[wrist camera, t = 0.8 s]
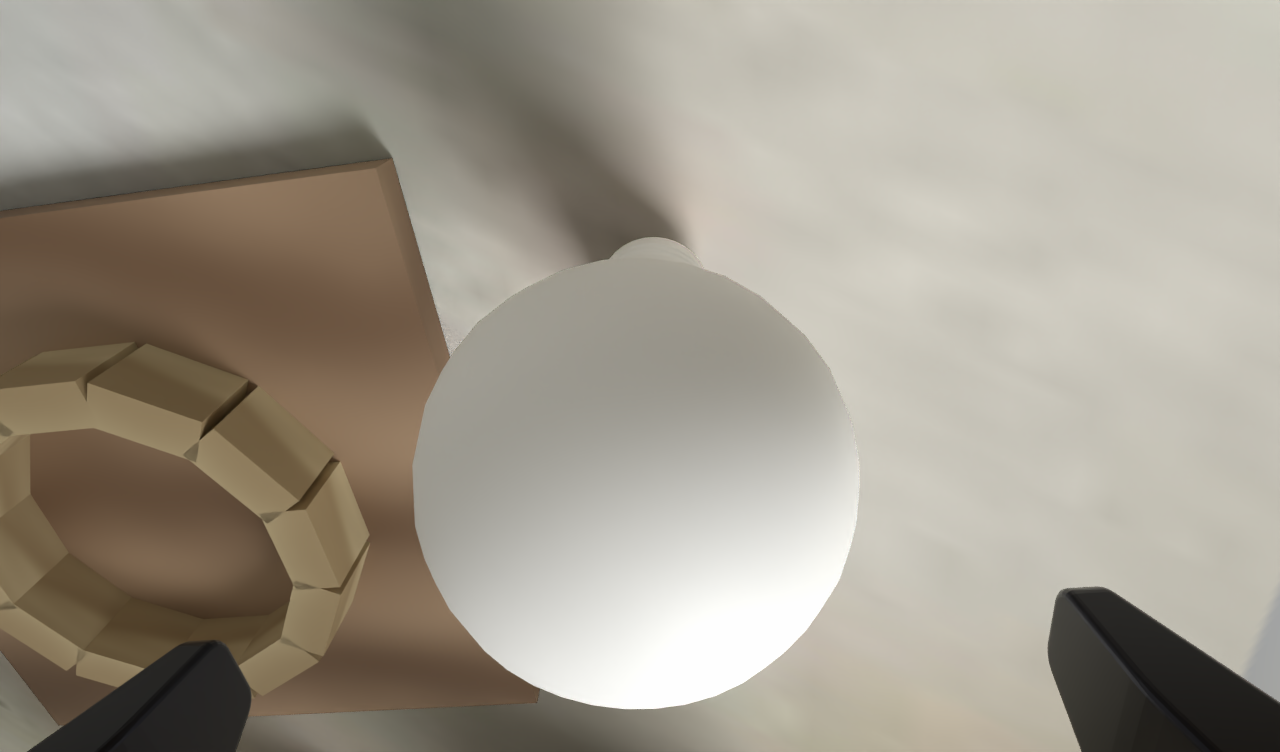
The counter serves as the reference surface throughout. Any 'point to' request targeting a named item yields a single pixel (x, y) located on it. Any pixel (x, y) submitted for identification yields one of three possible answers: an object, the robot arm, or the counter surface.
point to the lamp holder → (225, 445)
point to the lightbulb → (636, 481)
